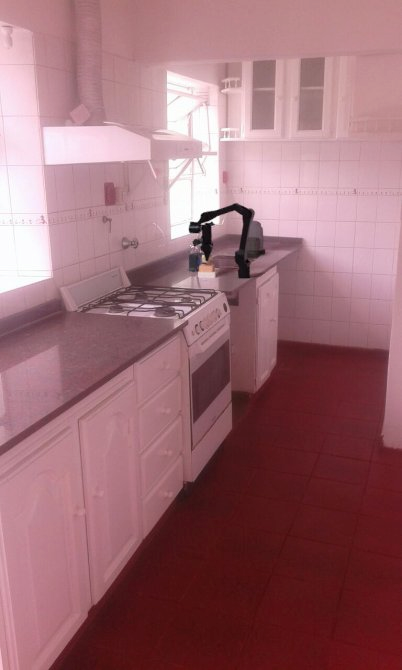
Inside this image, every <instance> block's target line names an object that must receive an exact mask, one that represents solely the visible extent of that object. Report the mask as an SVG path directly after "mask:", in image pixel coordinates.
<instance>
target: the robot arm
mask: <svg viewBox="0 0 402 670" xmlns="http://www.w3.org/2000/svg"><path fill="white" fill-rule="evenodd" d="M232 212H236V213H238V214H239V215H241V216H242V217H241V218H242V219H241V220H242V229H241V235H240V239H239V240H240V242H239V247H238V249H237V250H235V252H234V257H233V259H234V262H235V263H236V264H237V267H238V269H237V277H238V278H239V279H250V278H251V264H252V262H251V261H250V259H249V258H247V243H248V237H249V231H250V225H251V223H252V221H254V217H255V214H256V212H255V209H253V208H252V207H251V208H250V207H246V206H244V205H241V204H239V202H235V203H232V204H230V205H227V206H224V207H220V208H218V209H216V210H215V209H214V210H207V211H204V212H202V213H200V217H199V220H198V221H189V224H188V233H189V234H200V233H201V236H200V238H195V239H194V238H193V240H192V242H191V243H192V245H193V247H197V246H200V248H199V249H200V251H201V252H202V253H204V255H205V259H206V261H208V259H209V256H210V255H212V251H213V249H214V241H212V240H213V234H212V233H213V232H212V227H215V225H216V224H215V223H214V222H213V221H212V220H214V219H216V218H217V217H220V216H222V215H226V214H229V213H232Z"/></svg>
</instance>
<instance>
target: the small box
mask: <svg viewBox="0 0 402 670" xmlns="http://www.w3.org/2000/svg"><path fill="white" fill-rule="evenodd" d="M202 255H204V252H194V253H189V254H188V272H197V273H198V272H199V266H200V265H201V264H207V263H203V262H202Z"/></svg>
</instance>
